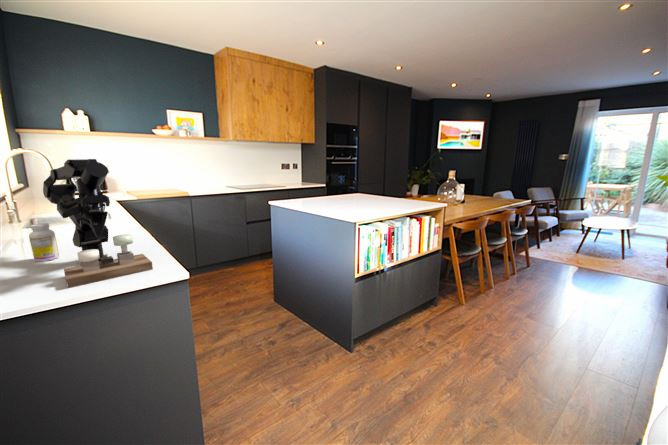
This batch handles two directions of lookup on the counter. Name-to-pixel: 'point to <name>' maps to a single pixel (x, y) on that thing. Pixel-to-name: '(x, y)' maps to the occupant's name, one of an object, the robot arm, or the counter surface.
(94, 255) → the knob cream
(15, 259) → the counter surface
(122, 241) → the knob sage
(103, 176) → the robot arm
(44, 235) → the supplement bottle
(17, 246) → the counter surface
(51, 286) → the counter surface
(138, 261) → the knob mount
